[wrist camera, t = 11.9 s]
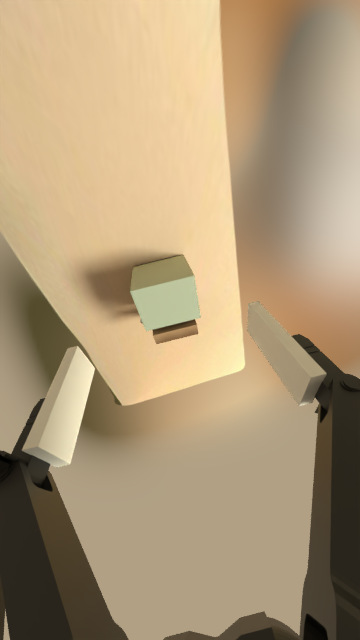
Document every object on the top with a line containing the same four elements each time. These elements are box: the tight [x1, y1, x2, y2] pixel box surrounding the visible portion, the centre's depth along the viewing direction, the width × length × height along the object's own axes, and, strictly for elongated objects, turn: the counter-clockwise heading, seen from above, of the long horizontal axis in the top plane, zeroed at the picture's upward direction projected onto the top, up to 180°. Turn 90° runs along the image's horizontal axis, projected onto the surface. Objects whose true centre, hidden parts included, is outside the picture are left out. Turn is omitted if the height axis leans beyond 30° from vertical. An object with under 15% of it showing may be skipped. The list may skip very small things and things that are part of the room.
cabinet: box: [130, 255, 201, 331], centre depth 40 cm, size 15×12×11 cm
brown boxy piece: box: [153, 319, 198, 344], centre depth 43 cm, size 4×9×11 cm, turn 101°
